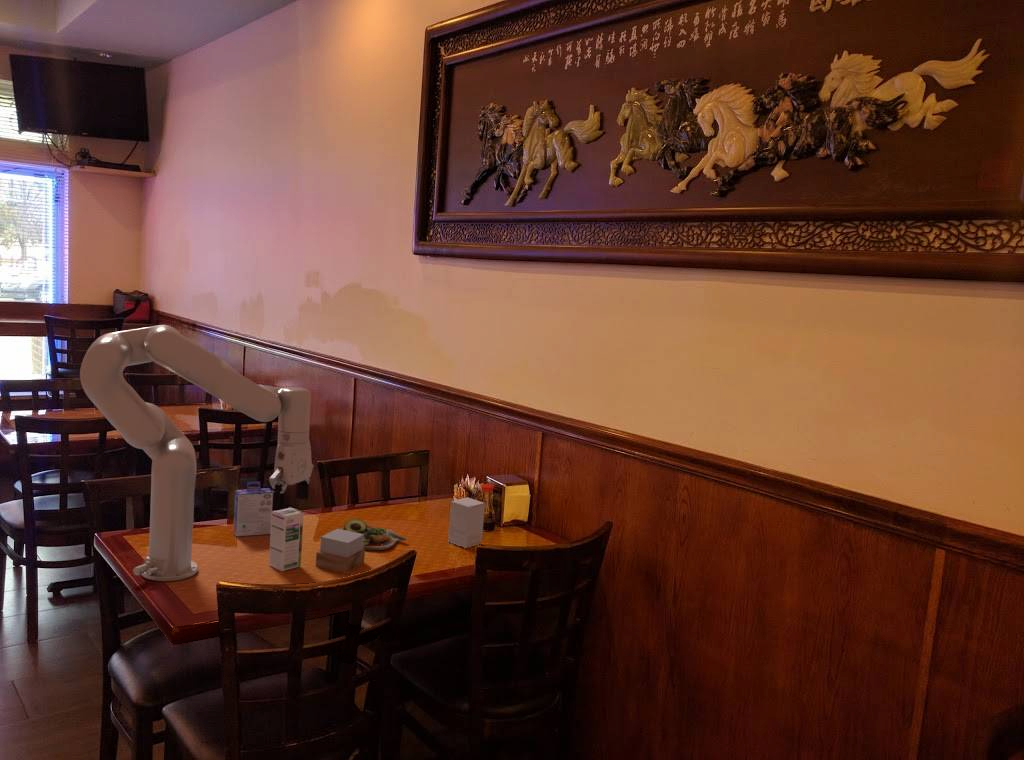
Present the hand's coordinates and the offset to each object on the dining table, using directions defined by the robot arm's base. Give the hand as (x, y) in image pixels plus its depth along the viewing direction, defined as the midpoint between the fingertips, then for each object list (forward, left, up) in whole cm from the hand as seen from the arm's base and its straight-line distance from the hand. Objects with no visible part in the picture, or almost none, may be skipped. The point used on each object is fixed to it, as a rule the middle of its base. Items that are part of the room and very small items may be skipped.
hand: (290, 503), depth 199 cm
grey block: (+9, -10, -13) cm, 19 cm away
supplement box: (+43, -32, -17) cm, 56 cm away
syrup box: (0, 0, -17) cm, 17 cm away
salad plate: (+29, -7, -17) cm, 34 cm away
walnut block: (+8, -10, -17) cm, 22 cm away
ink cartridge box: (+16, +22, -17) cm, 32 cm away
